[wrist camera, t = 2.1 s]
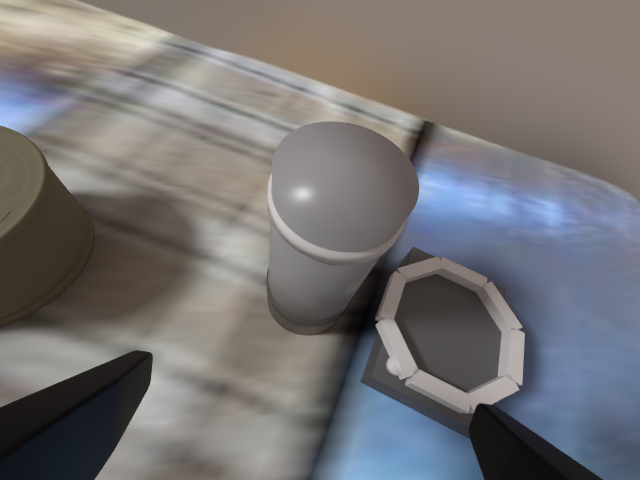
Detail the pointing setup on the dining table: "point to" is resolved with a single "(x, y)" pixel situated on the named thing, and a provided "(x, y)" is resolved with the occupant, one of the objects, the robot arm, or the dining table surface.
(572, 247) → the dining table surface
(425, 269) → the octagonal tray on plate
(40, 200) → the can
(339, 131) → the lens
